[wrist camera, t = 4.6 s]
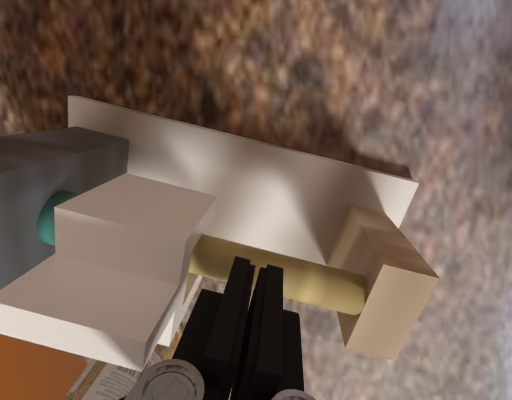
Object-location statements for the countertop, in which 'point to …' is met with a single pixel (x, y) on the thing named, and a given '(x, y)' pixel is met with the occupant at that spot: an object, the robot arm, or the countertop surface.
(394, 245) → the linear actuator
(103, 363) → the sprinkles bottle
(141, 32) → the countertop surface
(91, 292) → the sleeve
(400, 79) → the countertop surface
